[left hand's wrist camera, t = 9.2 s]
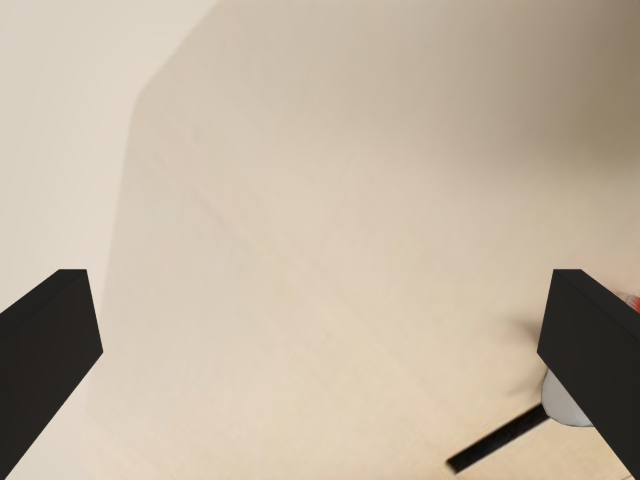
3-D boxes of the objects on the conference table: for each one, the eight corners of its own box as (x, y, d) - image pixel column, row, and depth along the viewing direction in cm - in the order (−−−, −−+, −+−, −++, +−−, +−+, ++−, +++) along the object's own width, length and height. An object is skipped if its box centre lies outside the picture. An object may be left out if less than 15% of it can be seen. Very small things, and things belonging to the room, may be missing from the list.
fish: (744, 382, 40) (778, 454, 32) (562, 405, 49) (552, 466, 41) (691, 274, 40) (712, 319, 32) (519, 318, 49) (500, 361, 41)
